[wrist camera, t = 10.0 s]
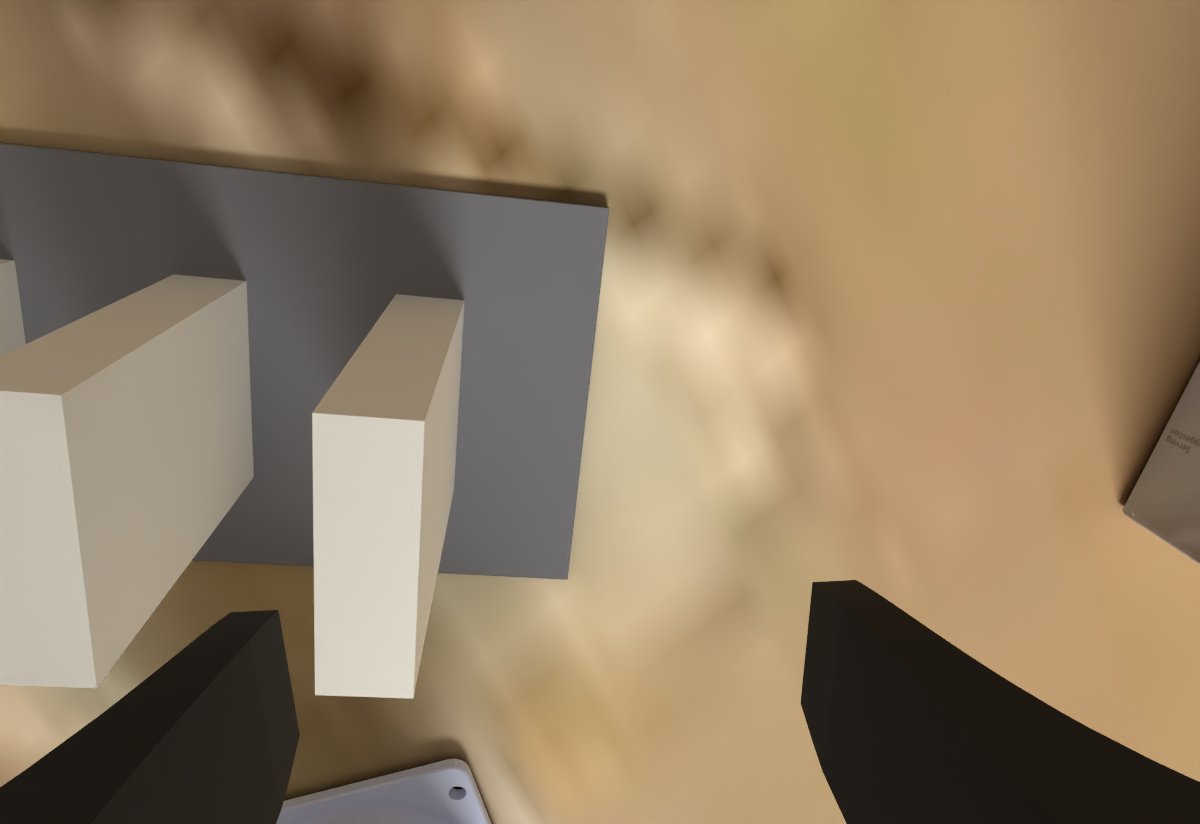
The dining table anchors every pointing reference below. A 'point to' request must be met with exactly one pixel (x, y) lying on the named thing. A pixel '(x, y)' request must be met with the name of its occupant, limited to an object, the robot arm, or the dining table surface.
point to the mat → (341, 322)
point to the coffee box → (1173, 479)
